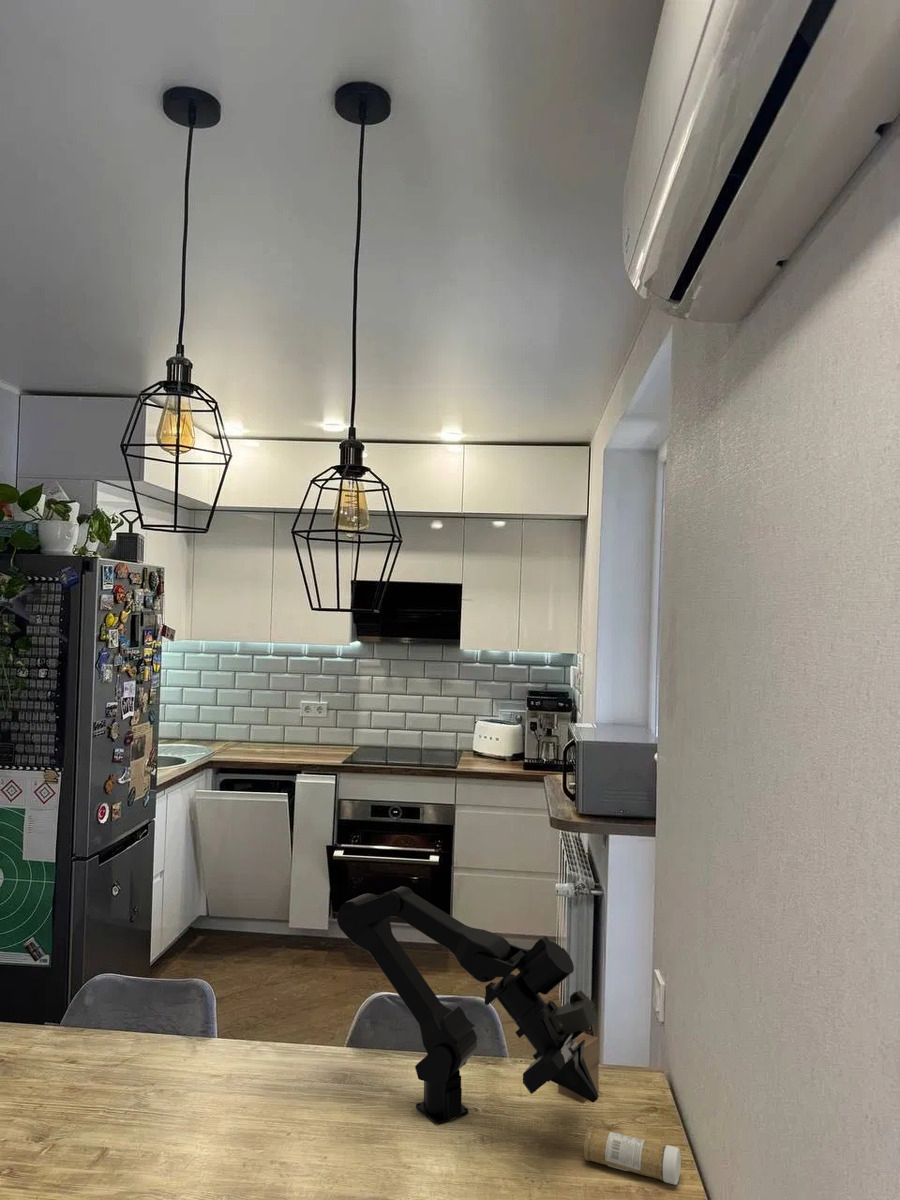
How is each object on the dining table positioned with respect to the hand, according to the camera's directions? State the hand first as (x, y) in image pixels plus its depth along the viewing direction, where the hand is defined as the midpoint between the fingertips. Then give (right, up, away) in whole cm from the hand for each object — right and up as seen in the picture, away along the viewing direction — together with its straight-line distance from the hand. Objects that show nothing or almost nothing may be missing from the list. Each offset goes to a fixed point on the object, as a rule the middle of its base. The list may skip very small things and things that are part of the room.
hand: (596, 1099), depth 128 cm
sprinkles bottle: (-2, -5, -2) cm, 6 cm away
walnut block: (0, -9, +17) cm, 20 cm away
